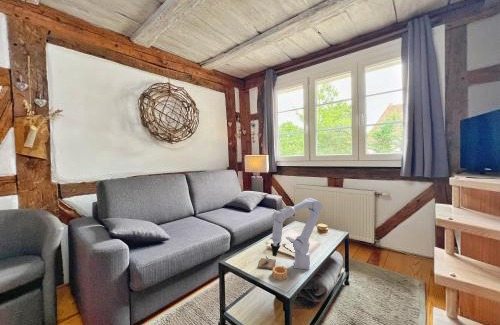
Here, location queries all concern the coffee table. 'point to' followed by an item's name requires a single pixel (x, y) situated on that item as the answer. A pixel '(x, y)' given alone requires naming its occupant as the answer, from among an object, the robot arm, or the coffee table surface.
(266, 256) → the hook post
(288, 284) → the coffee table surface
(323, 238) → the coffee table surface
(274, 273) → the cord coil ring
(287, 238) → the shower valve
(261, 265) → the walnut base board
